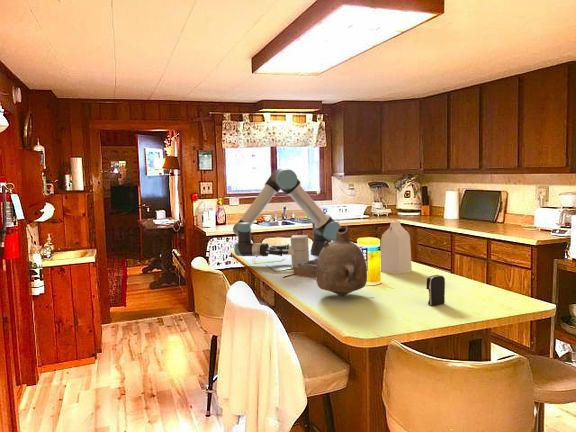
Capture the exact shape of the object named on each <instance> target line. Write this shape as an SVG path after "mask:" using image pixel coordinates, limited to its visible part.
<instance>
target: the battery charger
mask: <svg viewBox="0 0 576 432" xmlns="http://www.w3.org/2000/svg"><path fill="white" fill-rule="evenodd" d="M445 281H446V279H445V277H444V276H443V275H440V274H435V275H429V276H428V277H427V278H426V290H428V294H429V295H428V296H429V297H428V299H429V300H428V302H427V304H428V305H429V306H431V307H434V306H439V305H442V304H445V303H446V301H445V300H446V299H445V298H446V297H445V295H446V291H445V289H446V282H445Z"/></svg>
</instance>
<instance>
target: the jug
mask: <svg viewBox="0 0 576 432" xmlns="http://www.w3.org/2000/svg"><path fill="white" fill-rule="evenodd" d="M317 256H318V257H317V259H318V260H317V266H316V278H315V279H316V280H315V281H316V283H317V287H318V288H320V289H321V290H324V291H326V292H327V291H328V292H331V293H334V294H335V295H338V296H340V297H345V296H347V295H349V294H350V293H352V292H355V291H360V290H362V288H364V287H366V285H367V281H368V268H367V264H366V259H365V256H364V253H363V252H362V250H361V248H360V247H359V246H358V245H357V244H356V243H354V242H351V239H350V236H349V228H348V226H343V227H342V226H341V228H338V229H337V234H336V239H335V240H334V241H331V242H329V243H327V241H325V243H324V247H323V248H322V250H321V252H320V254H319V255H317Z"/></svg>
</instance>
